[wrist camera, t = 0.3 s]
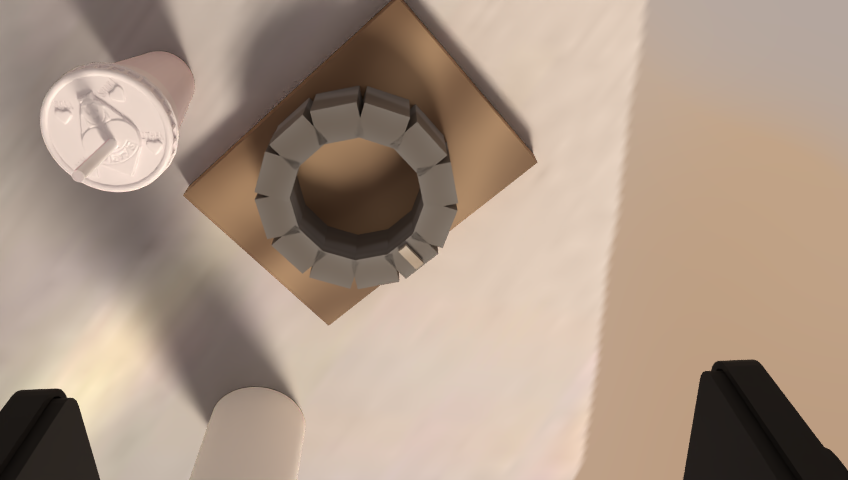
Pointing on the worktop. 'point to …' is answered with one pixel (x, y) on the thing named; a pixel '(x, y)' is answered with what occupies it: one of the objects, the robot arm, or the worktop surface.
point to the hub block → (363, 166)
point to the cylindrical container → (252, 438)
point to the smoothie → (117, 119)
